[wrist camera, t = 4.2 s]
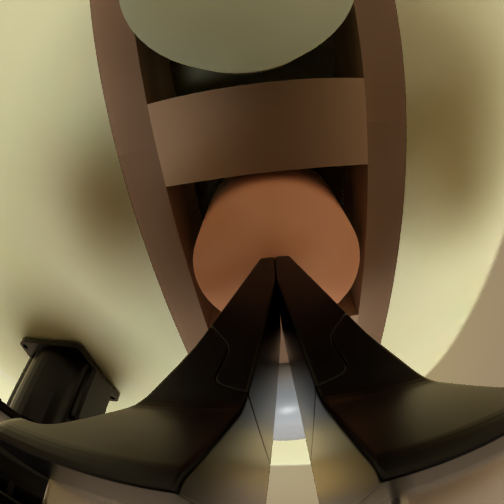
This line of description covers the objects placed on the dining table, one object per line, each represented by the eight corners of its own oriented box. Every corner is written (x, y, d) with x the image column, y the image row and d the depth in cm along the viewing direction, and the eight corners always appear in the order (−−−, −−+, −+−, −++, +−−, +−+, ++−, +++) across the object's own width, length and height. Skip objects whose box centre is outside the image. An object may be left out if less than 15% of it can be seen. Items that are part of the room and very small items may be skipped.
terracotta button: (220, 281, 13) (212, 332, 11) (195, 168, 10) (174, 201, 8) (337, 269, 13) (353, 318, 10) (336, 152, 10) (362, 180, 7)
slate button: (247, 397, 16) (245, 442, 14) (231, 345, 14) (226, 399, 11) (332, 390, 16) (339, 434, 13) (339, 334, 13) (351, 388, 11)
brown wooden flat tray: (228, 390, 19) (225, 430, 16) (123, -46, 6) (86, -70, 3) (350, 379, 18) (358, 418, 15) (339, -75, 5) (361, -110, 3)
